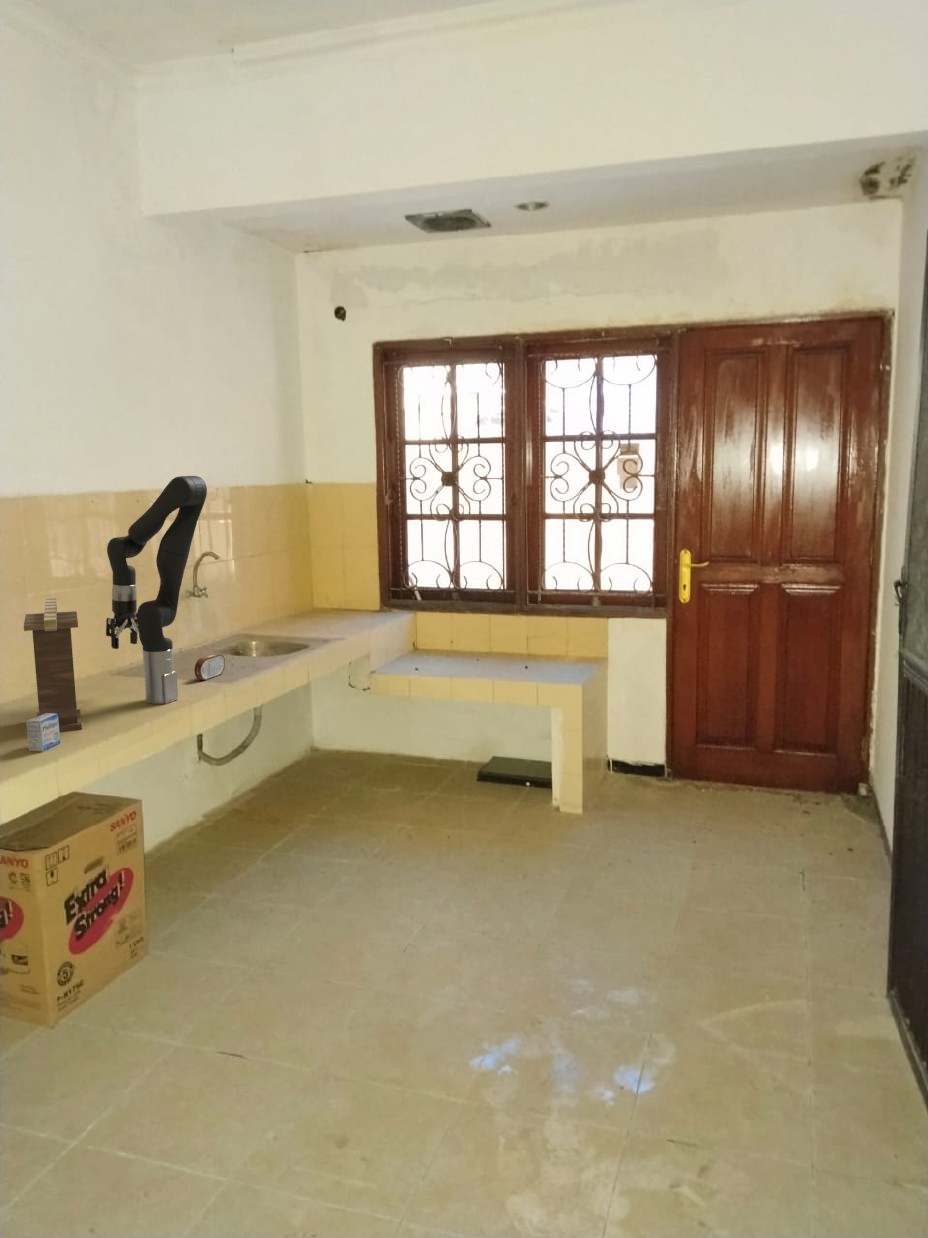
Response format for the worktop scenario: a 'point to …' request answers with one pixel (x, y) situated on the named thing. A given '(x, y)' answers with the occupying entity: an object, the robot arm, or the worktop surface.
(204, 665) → the tin
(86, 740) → the worktop surface
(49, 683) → the stand
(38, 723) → the medicine box
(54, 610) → the bar
